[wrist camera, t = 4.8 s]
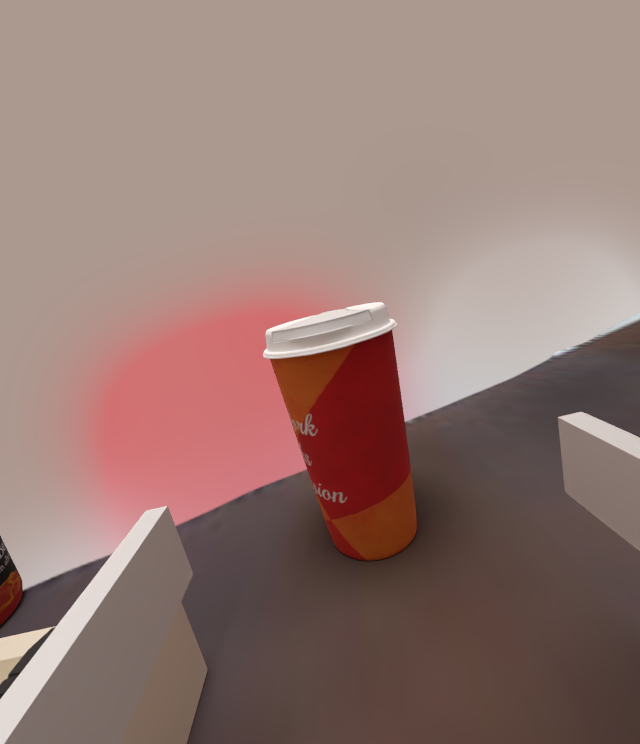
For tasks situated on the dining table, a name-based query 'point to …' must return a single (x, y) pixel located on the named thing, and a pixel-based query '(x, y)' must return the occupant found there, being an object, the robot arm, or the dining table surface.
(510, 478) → the dining table surface
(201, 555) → the dining table surface
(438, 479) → the dining table surface
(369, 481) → the paper cup
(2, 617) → the canned food
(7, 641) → the tray
